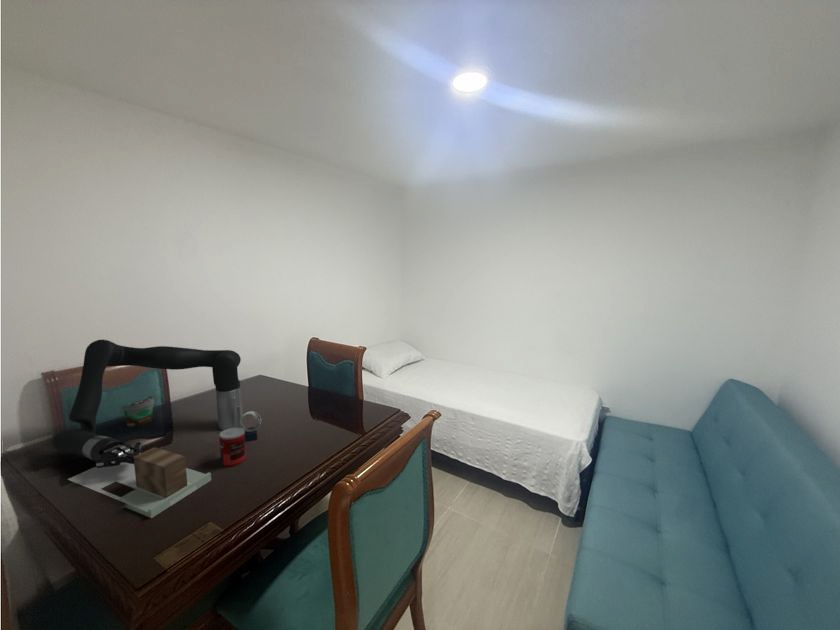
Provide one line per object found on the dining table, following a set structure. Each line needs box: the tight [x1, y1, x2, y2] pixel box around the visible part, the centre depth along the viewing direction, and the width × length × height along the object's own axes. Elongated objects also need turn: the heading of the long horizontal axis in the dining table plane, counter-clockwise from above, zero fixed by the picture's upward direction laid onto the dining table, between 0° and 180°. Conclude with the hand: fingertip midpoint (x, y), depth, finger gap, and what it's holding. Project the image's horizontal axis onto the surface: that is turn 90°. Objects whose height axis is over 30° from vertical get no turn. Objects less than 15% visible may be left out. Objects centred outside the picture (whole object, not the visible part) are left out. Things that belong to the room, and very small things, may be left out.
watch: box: [240, 410, 262, 443], centre depth 135 cm, size 6×8×11 cm
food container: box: [121, 395, 155, 427], centre depth 146 cm, size 12×6×10 cm, turn 168°
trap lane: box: [67, 452, 212, 519], centre depth 107 cm, size 40×18×2 cm, turn 70°
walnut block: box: [133, 446, 187, 498], centre depth 102 cm, size 14×6×10 cm, turn 70°
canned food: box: [218, 427, 247, 467], centre depth 119 cm, size 8×8×11 cm
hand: (137, 460), depth 107 cm, fingers closed
